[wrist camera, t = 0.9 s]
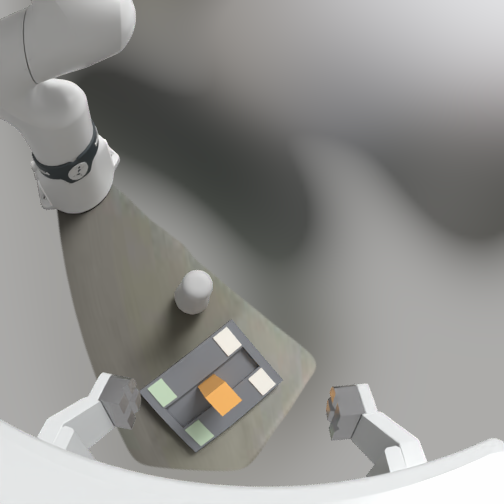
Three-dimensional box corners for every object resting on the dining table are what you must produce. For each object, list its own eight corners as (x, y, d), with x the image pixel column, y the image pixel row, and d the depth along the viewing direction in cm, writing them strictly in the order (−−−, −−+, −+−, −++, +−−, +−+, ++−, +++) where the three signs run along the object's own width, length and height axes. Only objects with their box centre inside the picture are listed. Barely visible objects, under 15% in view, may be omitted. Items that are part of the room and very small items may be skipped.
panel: (140, 389, 43) (138, 391, 41) (229, 320, 51) (232, 319, 49) (194, 448, 42) (195, 452, 40) (279, 378, 50) (283, 380, 48)
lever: (197, 386, 45) (205, 397, 35) (213, 373, 46) (225, 381, 36) (211, 401, 45) (222, 416, 34) (226, 388, 46) (242, 400, 36)
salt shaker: (199, 321, 49) (208, 313, 37) (168, 306, 49) (168, 294, 37) (212, 291, 52) (226, 274, 40) (183, 276, 51) (187, 255, 39)
